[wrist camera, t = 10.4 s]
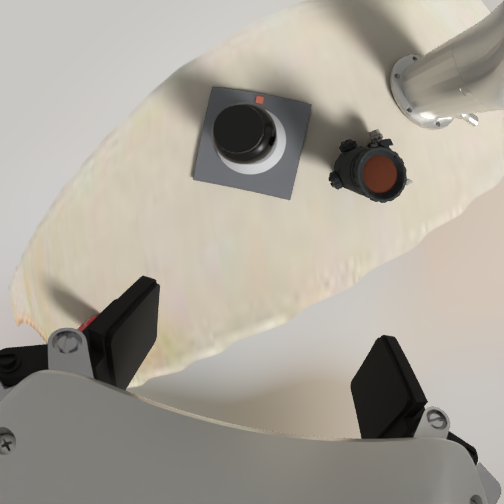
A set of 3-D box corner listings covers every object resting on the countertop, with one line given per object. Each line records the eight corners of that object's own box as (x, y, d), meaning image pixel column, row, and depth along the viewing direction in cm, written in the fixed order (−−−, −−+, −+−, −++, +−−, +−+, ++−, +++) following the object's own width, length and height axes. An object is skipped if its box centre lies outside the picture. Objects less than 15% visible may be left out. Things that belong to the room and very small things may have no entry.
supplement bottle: (284, 123, 33) (286, 105, 22) (268, 170, 35) (263, 174, 24) (234, 109, 33) (214, 87, 22) (220, 156, 35) (193, 154, 24)
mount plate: (310, 105, 33) (312, 103, 32) (289, 199, 38) (290, 201, 36) (213, 88, 33) (211, 85, 32) (194, 179, 38) (191, 180, 37)
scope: (442, 192, 22) (363, 230, 24) (393, 180, 35) (335, 206, 37) (415, 116, 20) (329, 150, 22) (372, 129, 33) (311, 154, 35)
